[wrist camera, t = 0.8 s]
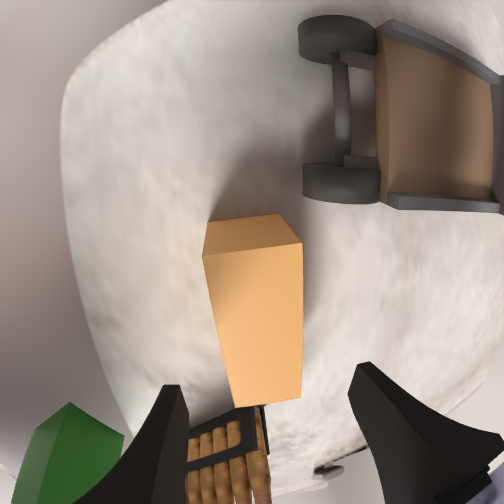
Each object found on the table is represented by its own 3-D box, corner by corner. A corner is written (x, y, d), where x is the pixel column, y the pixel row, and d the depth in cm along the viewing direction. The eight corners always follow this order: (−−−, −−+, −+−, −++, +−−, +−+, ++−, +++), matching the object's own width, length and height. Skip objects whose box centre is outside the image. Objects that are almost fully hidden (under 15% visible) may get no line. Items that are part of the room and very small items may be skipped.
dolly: (482, 95, 13) (531, 97, 8) (480, 197, 16) (528, 217, 11) (289, 38, 11) (322, -6, 6) (293, 189, 15) (330, 213, 10)
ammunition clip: (186, 442, 24) (185, 536, 13) (173, 435, 23) (169, 533, 12) (264, 407, 22) (286, 525, 11) (251, 400, 21) (270, 525, 10)
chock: (278, 212, 15) (302, 243, 11) (285, 346, 19) (300, 397, 15) (207, 221, 15) (201, 255, 11) (231, 354, 19) (235, 407, 14)
